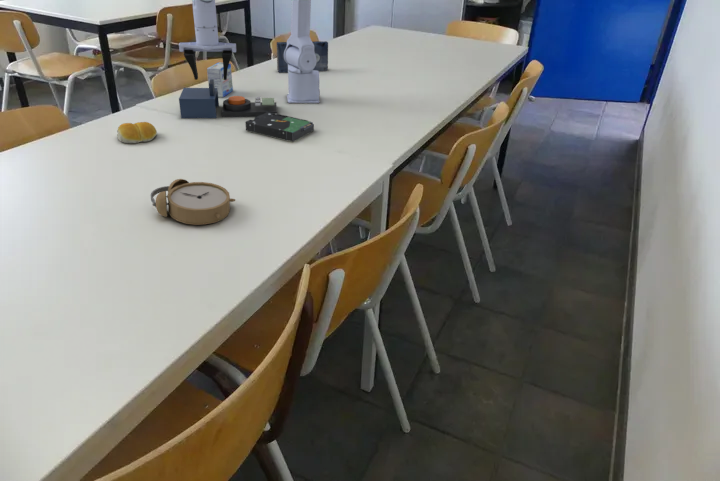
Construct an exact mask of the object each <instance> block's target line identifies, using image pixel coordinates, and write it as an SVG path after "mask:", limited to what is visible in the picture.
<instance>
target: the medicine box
mask: <svg viewBox="0 0 720 481" xmlns="http://www.w3.org/2000/svg"><path fill="white" fill-rule="evenodd" d="M206 73H207V83H208V85H209V82H210V79H214V87H215V88H217V90H218V98H224V97H226V96H227V95H229V94H230V93H232V92H233V91H234V86H233V75H232V74H233V73H232V64H231V63H230V62H229V65H228V69H227V80H224V69H223V61H222V62H221V61H220V62H216V63H215V64H213V65H211V66H208V67H207V68H206Z"/></svg>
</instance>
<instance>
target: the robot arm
mask: <svg viewBox="0 0 720 481" xmlns="http://www.w3.org/2000/svg"><path fill="white" fill-rule="evenodd" d="M191 3H192V14H193V23H194V33H195V41H189V42H179V43H178V48H179V49H178V51H179V52H181V53H183V56H184V58H185V60H186V62H187V63H188V65H189V67H190V69H191V72H192V76H193V78H194V80H195V81H197V80H198V79H199V72H198V68H197V58H196V52H212V53H213V52H215V53H216V52H219V53H221V52H222V54H221V57H222V63H223V69H224V80H227V69H228V65H229V63H230V62H231V59H232V56H233V53H237V43H233V42H221V41H219V29H218V18H217V8H216V0H191ZM290 9H291V11H290V36H289V37H288V38H287V40H286V42H287V46H286V49H285V51H284V60H285V62H286V63H287V64H288V72H287V79H288V80H287V82H288V84H287V86H288V87H287V88H288V93H287V94H286V97H287V103H288V104H319V103H320V94H321V90H320V71H317V70H313V69H314V67H315V66H316V62H317V58H316V55H315V52H314V44H313V42H314V41H312V38H311V12H312V11H311V9H312V0H291V8H290Z"/></svg>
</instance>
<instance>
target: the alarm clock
mask: <svg viewBox="0 0 720 481" xmlns="http://www.w3.org/2000/svg"><path fill="white" fill-rule="evenodd" d="M155 196H156V197H155ZM154 197H155V198H154ZM150 201H151V203H152V207H154V208H155V209H156V211H157V214H159V215H160V216H162V217H168V214H169V216H170V217H171V218H172V219H174V220H176V222H180V223H183V224H187V225H195V226H200V225H209V224H215V223H218V222H220V221H222V220H224V219H225V218H227V217H228V216H229V214H230V213H231V212H230V211H231V208H230V205H231V203H233V202H236V199H235V198H231V196H230V192H229V191H228V189H226V188H225V187H223V186H221V185H219V184H216V183H212V182H207V181H204V182H203V181H191V182H189V181H188V180H187V179H184V178H177V179H175V180H173V181H172V182H170V184H169V185H168V186H167V185H166V186H161V187H160V186H159V187H157V188H155V189H153V190H152V191H151V192H150Z"/></svg>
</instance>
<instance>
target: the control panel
mask: <svg viewBox="0 0 720 481" xmlns="http://www.w3.org/2000/svg"><path fill="white" fill-rule="evenodd" d="M274 104H275V105H262V101H260V106H255V101H254V102H253V101H251V100H250V99H248V98H245V103H244V104H240V105H233V104H229V102H228V98H226V99H224V100H222V107H221V108H222V109H221V118H255V117H257V116H260V115H262V114H264V113H266V112H271V113H276V114H278V108H277V107H278V106H277V102H275V101H274Z"/></svg>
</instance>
